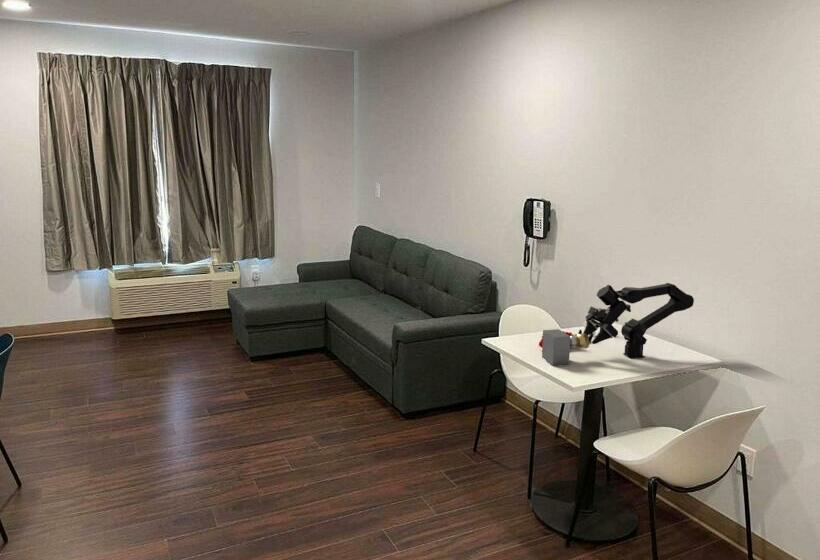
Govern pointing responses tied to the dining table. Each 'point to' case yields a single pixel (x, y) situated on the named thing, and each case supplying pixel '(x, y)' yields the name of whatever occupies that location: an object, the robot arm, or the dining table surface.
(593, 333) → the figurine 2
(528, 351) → the dining table surface
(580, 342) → the gold cylindrical piece
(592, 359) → the dining table surface
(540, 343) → the figurine
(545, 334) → the housing
